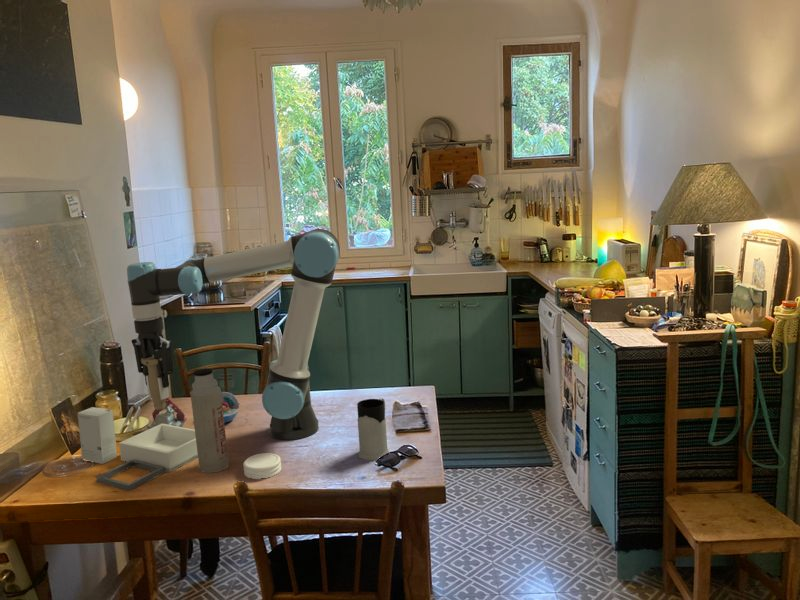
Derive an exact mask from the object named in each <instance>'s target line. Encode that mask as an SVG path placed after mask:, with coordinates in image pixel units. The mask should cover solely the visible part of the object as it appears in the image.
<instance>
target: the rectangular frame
mask: <svg viewBox="0 0 800 600" xmlns="http://www.w3.org/2000/svg"><path fill="white" fill-rule="evenodd" d="M133 466H134V467H133ZM137 467H138V468H137ZM127 468H128V469H130V468H137V469H141V468H142V470H146V469H147V470H146V471H150V470H152V471H150V472H148V473H147V474H144V475H143V476H141V477H138V478H137V479H134V480H133V481H131V482H126V481H122V480H118V479H114V478H112V477H114V476H115V475H118V474H120V473H122V472H124V471H127V470H128V469H127ZM162 473H163V474H164V473H166V471H165V467H163V466H158V465H154V464H150V463H145V462H141V461H137V460H130V461H128V462H124V463H122V464H121V465H118V466H116V467H114V468H112V469H110V470H107V471H105V472H103V473H101V474H99V475H97V476H96V477H95V478H96V483H97V484H98V483H99V484H103V485H105V486H106V485H107V486H109V487H113V488H118V489H120V490H121V489H122V490H125V491H128V492H130V491H132V490H134V489H136V488H138V487H139V485H140V486H141V484H142V485H143V483H144V484H145V483H147V482H150V481H151V480H153V479H155V478H157V477H159V476H160V474H161V475H162ZM158 475H159V476H158ZM156 476H157V477H156ZM154 477H155V478H154ZM137 486H138V487H137Z"/></svg>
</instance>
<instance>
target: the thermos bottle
mask: <svg viewBox="0 0 800 600" xmlns="http://www.w3.org/2000/svg"><path fill="white" fill-rule="evenodd" d="M193 375H194V382H192V384H191V388H192V390H191V391H190V394H189V395H190V400H191V401H190V403H191V410H192V417H193V425H194V428H193V429H194V430H195V436H196V444H197V453H198V458H197V459H198V469H199V471H200V472H202V473H205V472H206V473H207V474H209V473H210V474H211V473H212V472H213V473H218V472H220V471H223V469H224V470H226V469H227V468H228V467H229V463H230V462H229V454H228V444H227V435H226V434H227V433H226V427H225V423H224V416H223V407H222V398H221V392H222V391H221V389H222V388H221V387H220V386H218V385H219V384H218V381H217V379H215V378H214V375H213V369H212V368H210V367H209V368H208V367H207V368H199V369H196V370H193ZM206 473H205V474H206Z"/></svg>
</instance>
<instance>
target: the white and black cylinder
mask: <svg viewBox="0 0 800 600" xmlns="http://www.w3.org/2000/svg"><path fill="white" fill-rule="evenodd" d="M356 406H357V407H356V408H357V428H358V429H357V431H358V432H357V433H358V443H359V444H358V445H359V452H358V454H357V455H359V456H358V457H359V459H361V458H362V459H361V460H364V459H365V461H377V460H376V459H378V458H379V457H381V456H383V455H384V454H386V453H388V452H389V453H390V451H389V449H388V439H387V438H388V436H387V422H386V420H387V419H386V402H385V398H384V397H380V398H379V399H378V398H367V399H362V400H359V401H358V402H357V403H356Z"/></svg>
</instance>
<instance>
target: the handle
mask: <svg viewBox="0 0 800 600" xmlns="http://www.w3.org/2000/svg"><path fill="white" fill-rule="evenodd" d="M159 360H160V361H161V360H162V358H160V359H159ZM141 362H142V364H144V365H146V366H147V367H148V373H149V383H150V392H151V396H152V398H151V401H152V404H153V407H154V410H155V409H156V410H159V409H163V408H165V407H166V403H165V401H166V398H165V399H163V400H161V398H160V391H159V384H158V377H157V376H159V372H158V369H157V364H158V359H155V358H154V355H153V356H152V357H149V358H142V359H141Z"/></svg>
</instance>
